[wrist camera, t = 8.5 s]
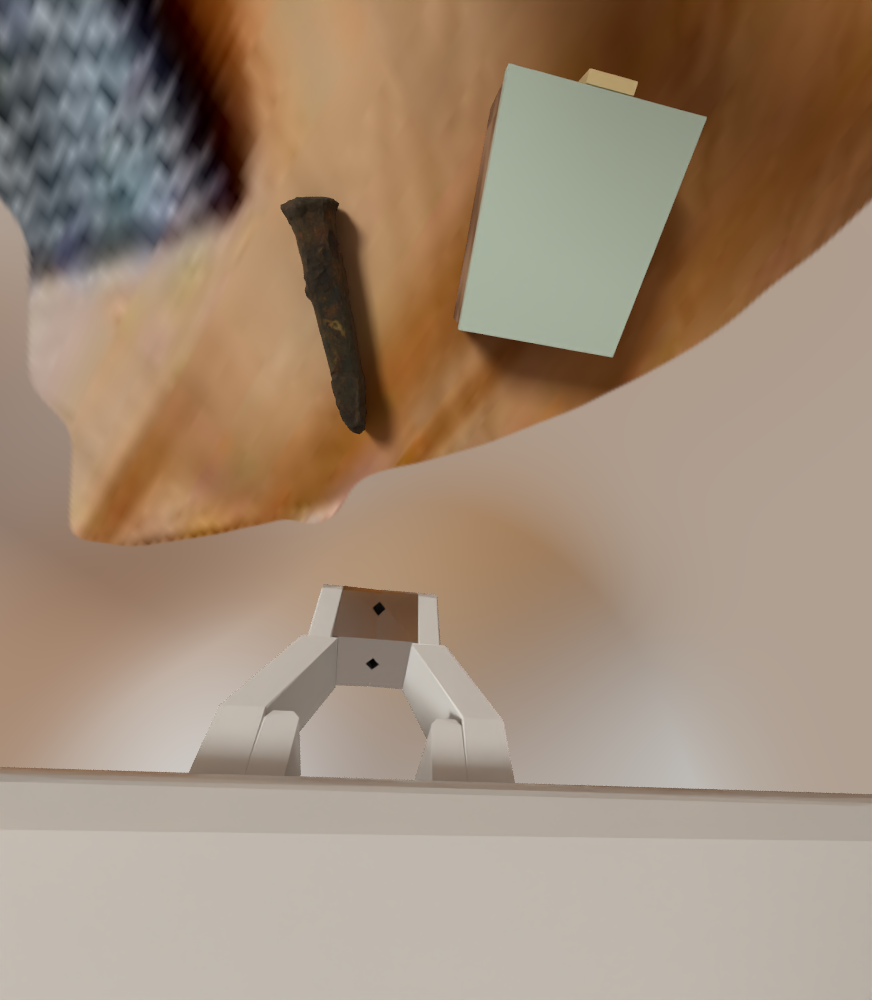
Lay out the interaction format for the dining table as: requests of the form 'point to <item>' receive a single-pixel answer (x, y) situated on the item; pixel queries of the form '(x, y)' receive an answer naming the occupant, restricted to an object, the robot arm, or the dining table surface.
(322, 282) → the dark brown rough bar
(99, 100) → the dining table surface
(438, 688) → the robot arm
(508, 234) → the lid
